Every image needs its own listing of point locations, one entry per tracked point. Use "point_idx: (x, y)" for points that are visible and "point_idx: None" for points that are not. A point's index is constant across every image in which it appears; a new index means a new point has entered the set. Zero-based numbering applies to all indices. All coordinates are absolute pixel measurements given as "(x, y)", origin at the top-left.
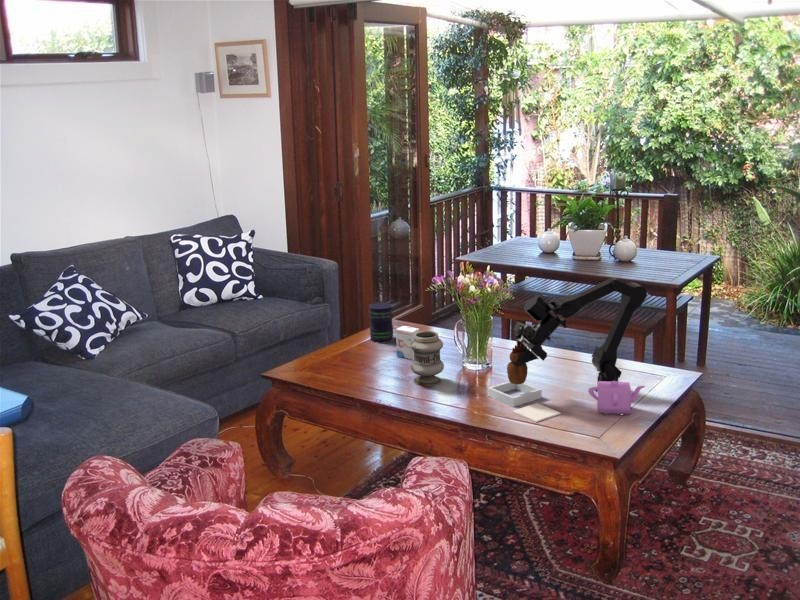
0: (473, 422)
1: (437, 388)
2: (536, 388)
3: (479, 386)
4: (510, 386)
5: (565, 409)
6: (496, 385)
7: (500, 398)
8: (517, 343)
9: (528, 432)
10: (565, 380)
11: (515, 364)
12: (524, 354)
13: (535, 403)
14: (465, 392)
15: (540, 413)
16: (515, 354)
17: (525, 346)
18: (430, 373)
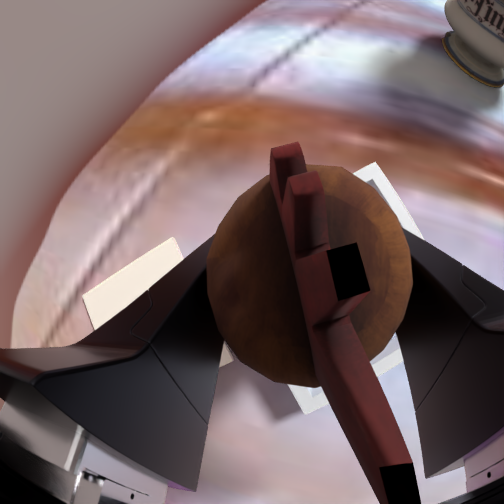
0: (138, 111)
1: (429, 58)
2: (325, 396)
3: (462, 174)
4: None
5: None
6: (401, 207)
7: None
8: (342, 247)
9: (45, 252)
10: (440, 496)
11: (213, 238)
12: (98, 336)
13: (228, 354)
14: (404, 113)
15: None
16: (226, 219)
17: (40, 401)
18: (449, 22)
